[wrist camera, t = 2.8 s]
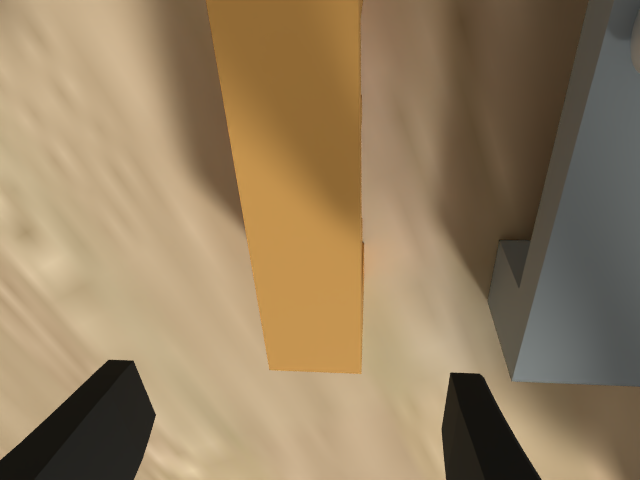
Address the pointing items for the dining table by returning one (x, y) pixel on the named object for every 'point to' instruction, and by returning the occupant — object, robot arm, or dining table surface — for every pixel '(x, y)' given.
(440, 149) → the dining table surface
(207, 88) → the dining table surface
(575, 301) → the grey frame
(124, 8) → the dining table surface
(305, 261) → the notched orange plank
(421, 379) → the dining table surface
